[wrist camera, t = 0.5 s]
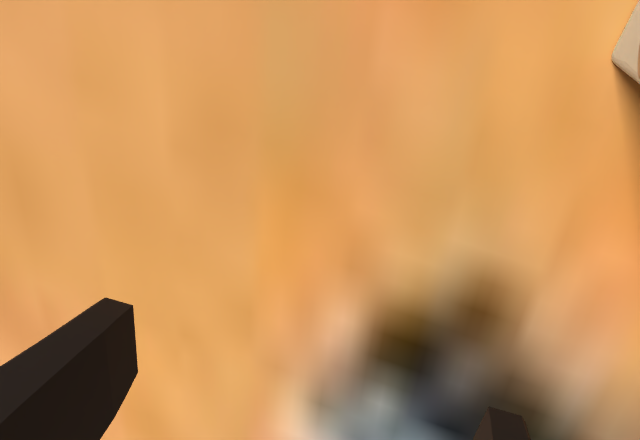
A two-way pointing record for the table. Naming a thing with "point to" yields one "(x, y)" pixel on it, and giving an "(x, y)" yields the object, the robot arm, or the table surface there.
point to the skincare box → (629, 47)
